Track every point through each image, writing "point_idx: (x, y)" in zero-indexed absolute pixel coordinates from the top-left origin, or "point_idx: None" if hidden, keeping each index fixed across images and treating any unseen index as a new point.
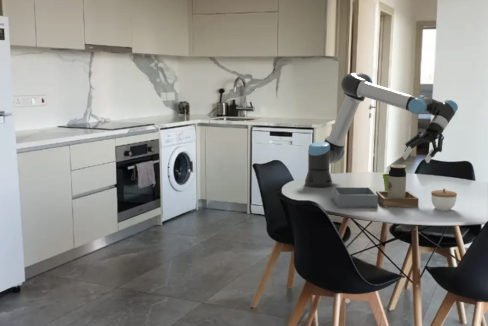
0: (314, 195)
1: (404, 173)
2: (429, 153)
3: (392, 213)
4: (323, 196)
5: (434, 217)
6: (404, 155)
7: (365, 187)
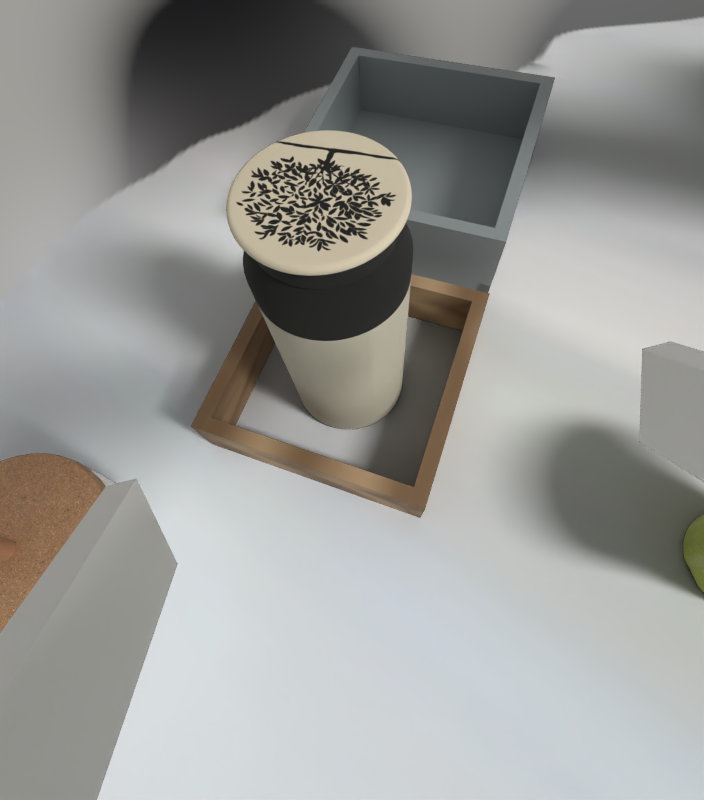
0: (639, 104)
1: (245, 273)
2: (27, 611)
3: (169, 256)
4: (608, 129)
5: (4, 389)
6: (669, 377)
7: (505, 216)
